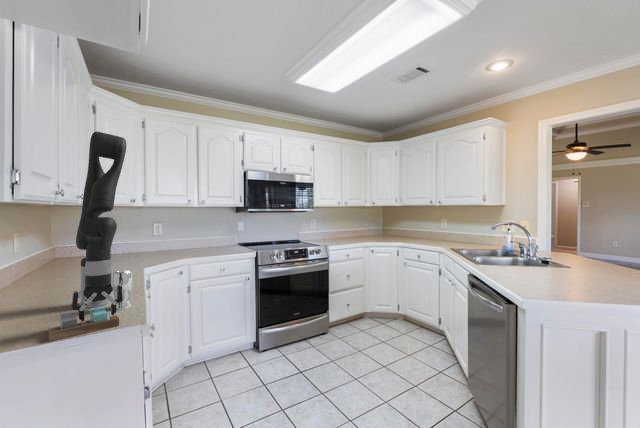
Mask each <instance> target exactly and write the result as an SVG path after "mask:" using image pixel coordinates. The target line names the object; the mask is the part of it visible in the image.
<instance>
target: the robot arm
mask: <svg viewBox="0 0 640 428" xmlns="http://www.w3.org/2000/svg"><path fill="white" fill-rule="evenodd" d="M88 150H89V151H88V162H87V163H88V165H87V172H86V173H87V174H86V179H85V184H84V191H83V197H82V208H81V215H80V219H79V224H78V227H77V231H76V237H75V245H76V247H77V248H78V250H81V251H85V257H84V258H81V260H80V291H75V290H74V291H73V293H72V301H71V309H72V310H73V311H78V319H79V320H80V322H85V309H87V308H89V309H90V308H95V307H101V306H104V305H106V304H108V302H110V303H111V304H110V315H111V316H115V314H116V313H117V310H116V305H117V303H119V302H122V301H123V297H122V287H121V286H120V285H118V286H115V287H113V285H112V261H111V257H112V256H111V255H112V253H111V251H112V250H111V248H112V245H113V241H114V238H115V235H116V233H117V228H118V224H117V222H116V220H115V219H114V218H112V217H109V216H101V215H102V214H104V213H109V212H111V211H113V210H114V206H115V204H114V203H115V197H116V191H117V186H118V182H119V180H120V179H119V178H120V177H121V172H122V169H123V165H124V162H125V158H126V157H125V156H126V153H127V140H126V138H124V137H121V136H118V135H114V134H109V133H105V132H101V131H93V133H92V134H91V137H90V141H89V149H88ZM100 158H104V159H109V160H113V163H112V165H111V166H110V168H109V169H108V170H107V171H106V172H104V168H103V167H102V165H101V162H100ZM113 290H115V292H117V299H116V300H115V298H114V297H112V296H111V293H112V292H114V291H113ZM79 299H80V305H78V301H79Z"/></svg>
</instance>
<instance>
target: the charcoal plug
mask: <svg viewBox="0 0 640 428" xmlns="http://www.w3.org/2000/svg"><path fill="white" fill-rule="evenodd" d="M59 316H60V318H59V319H60V320H59V324H60V325H59V330H62V329H67V328H71V327H76V326H78V318H77V316H76V313H75V311H69V312H64V313H60V314H59Z"/></svg>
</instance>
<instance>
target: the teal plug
mask: <svg viewBox="0 0 640 428" xmlns="http://www.w3.org/2000/svg"><path fill="white" fill-rule="evenodd" d="M104 320H108V313H107V311H106V309H105V308H104V305H102V306H97V307H91V308H89V323H95V322H100V321H104Z"/></svg>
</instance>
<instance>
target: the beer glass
mask: <svg viewBox="0 0 640 428" xmlns="http://www.w3.org/2000/svg"><path fill="white" fill-rule="evenodd" d="M133 281H134V279H133V270H130V269H129V270H127V269H125V270H117V271H114V272H112V287H115V286H118V285H120V286H121V287H122V297H123V301H122V302H119V303H117V305H116V311H117V310H118V311H119V310H125V309H129V308H131V307H132V303H131V293H132V290H133V289H132V288H133ZM112 292H113V294H114V300H116V299H117V292H115V290H113V291H112Z"/></svg>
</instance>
